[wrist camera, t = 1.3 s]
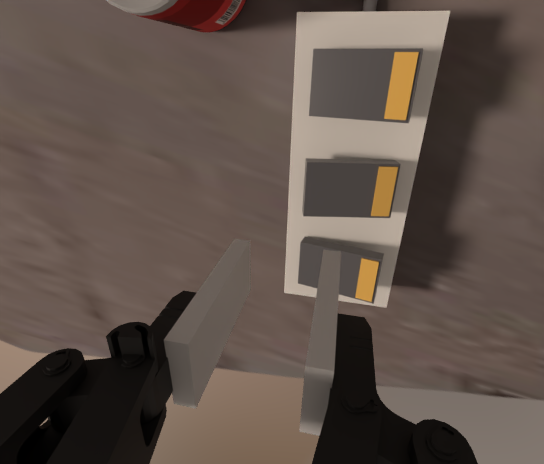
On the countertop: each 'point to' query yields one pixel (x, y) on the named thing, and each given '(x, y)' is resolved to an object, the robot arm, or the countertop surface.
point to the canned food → (185, 12)
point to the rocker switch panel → (358, 132)
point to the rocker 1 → (365, 83)
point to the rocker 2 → (342, 268)
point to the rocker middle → (349, 187)
